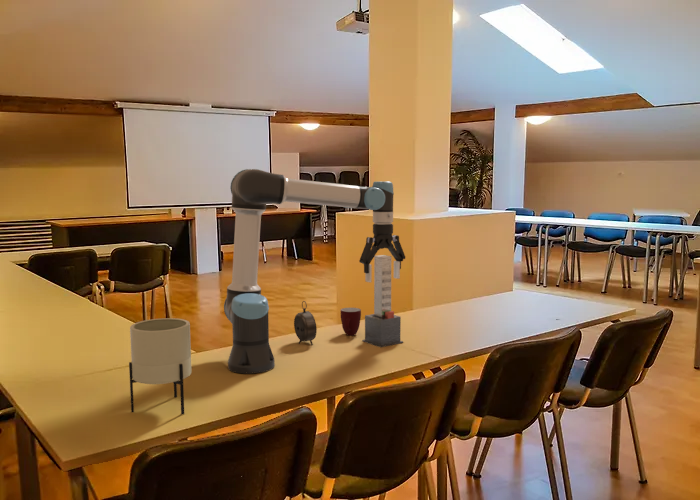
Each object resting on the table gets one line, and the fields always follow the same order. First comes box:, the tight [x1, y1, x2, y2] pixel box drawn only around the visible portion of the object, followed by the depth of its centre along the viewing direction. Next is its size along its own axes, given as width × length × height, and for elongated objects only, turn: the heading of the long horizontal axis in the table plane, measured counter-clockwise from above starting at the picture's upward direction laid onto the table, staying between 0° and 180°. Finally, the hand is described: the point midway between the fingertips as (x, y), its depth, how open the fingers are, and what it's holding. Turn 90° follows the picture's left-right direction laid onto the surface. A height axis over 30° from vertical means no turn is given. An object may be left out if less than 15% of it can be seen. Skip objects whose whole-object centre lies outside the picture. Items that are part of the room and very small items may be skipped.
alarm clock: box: [293, 300, 318, 346], centre depth 229 cm, size 11×5×16 cm, turn 31°
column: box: [373, 254, 392, 319], centre depth 228 cm, size 4×5×24 cm
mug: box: [340, 307, 362, 337], centre depth 241 cm, size 10×8×10 cm
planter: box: [128, 317, 192, 415], centre depth 164 cm, size 15×16×23 cm
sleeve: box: [361, 310, 404, 348], centre depth 230 cm, size 11×11×12 cm
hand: (382, 280), depth 228 cm, fingers open, 13 cm apart
